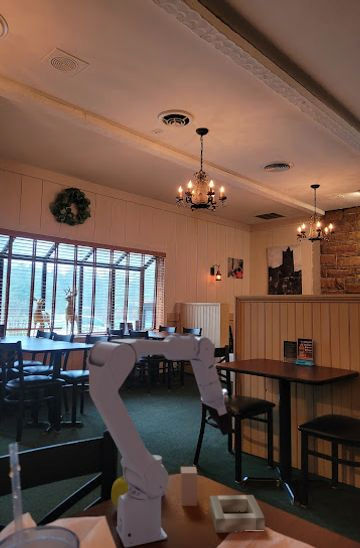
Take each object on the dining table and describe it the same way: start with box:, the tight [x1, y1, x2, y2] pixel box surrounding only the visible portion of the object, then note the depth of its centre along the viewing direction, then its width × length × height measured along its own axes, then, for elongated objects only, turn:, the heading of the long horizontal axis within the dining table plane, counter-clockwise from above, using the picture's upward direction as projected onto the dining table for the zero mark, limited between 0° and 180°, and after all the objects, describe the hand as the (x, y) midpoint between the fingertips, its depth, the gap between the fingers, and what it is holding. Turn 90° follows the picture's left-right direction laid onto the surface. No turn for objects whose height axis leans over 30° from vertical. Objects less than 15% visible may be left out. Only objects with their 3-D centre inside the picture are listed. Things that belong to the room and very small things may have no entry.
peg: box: [179, 466, 198, 507], centre depth 106 cm, size 4×4×8 cm
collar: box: [209, 494, 266, 534], centre depth 98 cm, size 11×11×3 cm
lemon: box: [110, 475, 129, 509], centre depth 102 cm, size 6×6×8 cm
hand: (221, 426), depth 108 cm, fingers open, 7 cm apart
